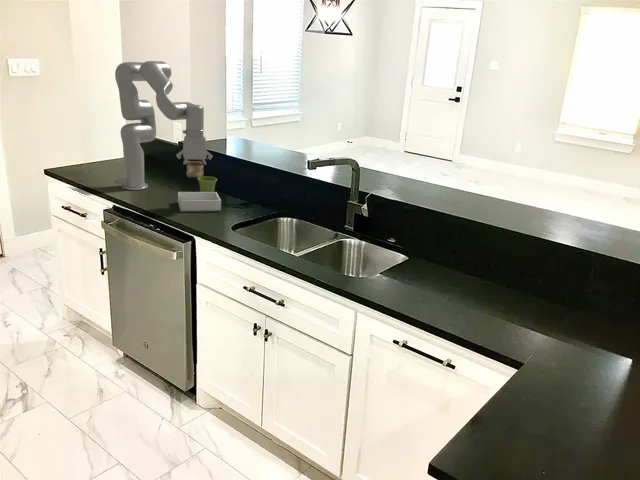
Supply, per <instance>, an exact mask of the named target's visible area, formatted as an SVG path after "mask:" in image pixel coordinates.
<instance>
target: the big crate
mask: <svg viewBox="0 0 640 480" xmlns="http://www.w3.org/2000/svg"><path fill="white" fill-rule="evenodd" d="M177 203H178V207H179V211H180V212H221V211H222V199H221V197H220V195H219V194H218V192H217V191H214V192H200V191H178V192H177Z"/></svg>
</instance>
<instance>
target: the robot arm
mask: <svg viewBox="0 0 640 480" xmlns="http://www.w3.org/2000/svg"><path fill="white" fill-rule="evenodd" d="M114 76H115V82H116V85H117V89H118V94H119V95H118V96H119V104H120V112H121V116H122V118H123V119H125V120H126V121H140V122H135V123H134V122H132V123H131V122H130V123H127V124H124V125H123V126H122V127H121V128H120V138H121V143H122V150H123V151H122V152H123V177H121V178H114V183H117V184H120V188H122V189H124V190H128V191H141V190H145V189H147V188H148V187H149V185H148V183H145V152H144V150H143V148H142V146H141V144H142V143H150V142H152V141H154V140H155V139H156V136H157V126H156V115H155V114H156V113H155V108H154V106H153V104H152V102H150V100H147V99H139V91H138V89H137V87H136V84H134V82H147V84H148V85H149V86H150V88H151V89H152V90H153V91H154V92H155V101H156V106H157V107H158V109H159V112H161V113H162V114H163V115H164V116H165V117H166V118H167V119H169V120H170V121H182V120H185V130H182V134H184V138H183V143H182V144H183V145H182V149H181V150H180V151H179V152H177V154H176V155H175V156H176V158H177V159H178V160H179V161H180V163H182V165H183V167H182V168H183V172H184V173H185V174H186V173H187V164H186V163H187V161H191V160H192V161H195V160H196V161H201V162H202V164H203V166H204V172H206V171H207V169H206V166H207V164H208V163H209V162H210V161H211V160H212V159H213V157H214V156H213V155H212V153H210V152H209V151H208V149H207V140H206V137H205V136H204V128H205V127H204V123H205V121H204V120H205V119H204V117H205V111H204V109H205V108H204V107H203V105H200V104H194V103H192V102H189V101H188V102H187V101H184V102H183V101H177V102H172V100H170V98H169V97H168V96H167V95H169V94H170V93H171V91H172V90H173V86H174V84H173V82H172V81H171V80H170V78H171V77H172V68H171V66H170V65H169V64H168V63H167V62H165V61H161V60H158V61H157V60H146V61H144V62H140V61H139V62H138V61H126V62H122V63H119V64H118V65H117V66H116V69H115V71H114ZM207 156H208V157H207ZM182 157H183V158H182Z"/></svg>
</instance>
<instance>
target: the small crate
mask: <svg viewBox="0 0 640 480" xmlns="http://www.w3.org/2000/svg"><path fill="white" fill-rule="evenodd" d="M202 163H203V161H202V160H196V161H195V160H192V161H191V160H188V161H187V163H186V164H187V173H185V175H186V177H187V178H199V177H205V175H204V174H205V171H204V166H203V164H202Z"/></svg>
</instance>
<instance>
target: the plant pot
mask: <svg viewBox="0 0 640 480" xmlns="http://www.w3.org/2000/svg"><path fill="white" fill-rule="evenodd" d="M197 181H198V183H199V192H215V188H216V187H215V186H216V183H217V181H218V178H216V177H213V176H203V177H197Z"/></svg>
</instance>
